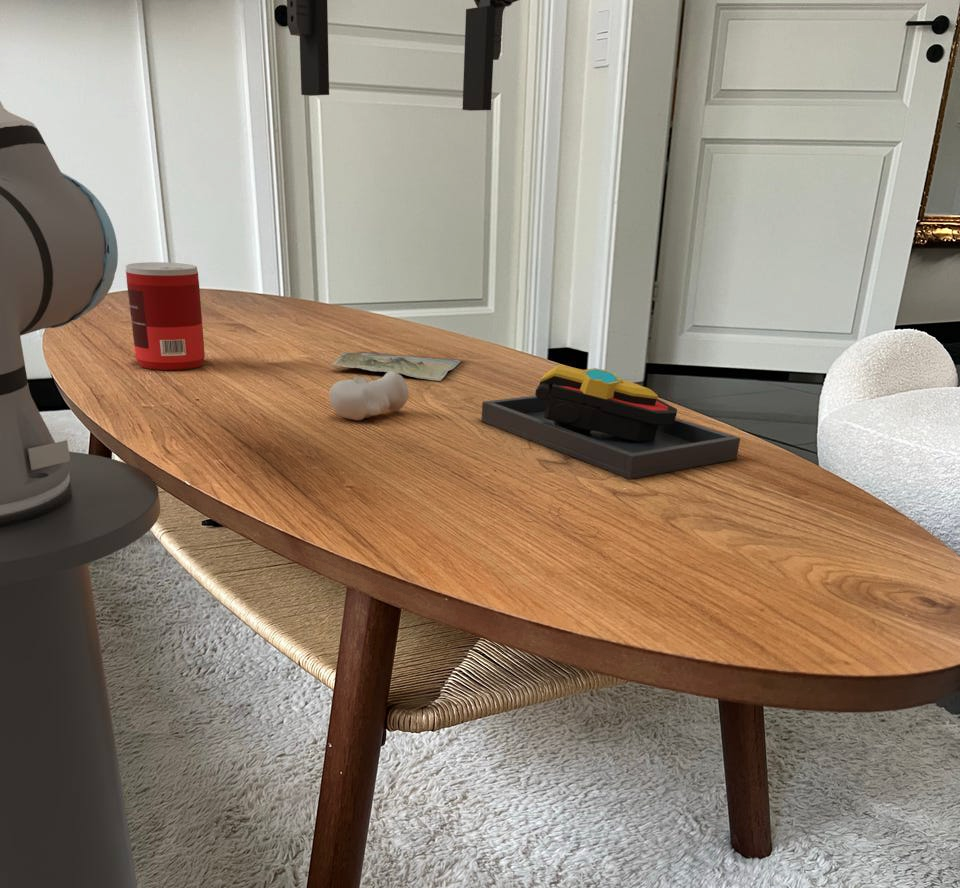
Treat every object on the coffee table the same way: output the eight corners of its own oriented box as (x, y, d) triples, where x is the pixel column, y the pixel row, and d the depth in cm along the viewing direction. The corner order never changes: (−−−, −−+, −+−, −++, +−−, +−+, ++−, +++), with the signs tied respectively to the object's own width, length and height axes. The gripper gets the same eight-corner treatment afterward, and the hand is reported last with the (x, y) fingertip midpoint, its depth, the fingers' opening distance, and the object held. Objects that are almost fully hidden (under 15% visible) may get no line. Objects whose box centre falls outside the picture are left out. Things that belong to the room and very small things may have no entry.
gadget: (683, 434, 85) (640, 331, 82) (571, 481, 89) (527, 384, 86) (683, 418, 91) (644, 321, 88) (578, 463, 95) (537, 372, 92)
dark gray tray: (481, 421, 94) (481, 401, 93) (582, 408, 101) (584, 389, 101) (630, 479, 79) (633, 456, 78) (736, 459, 86) (740, 437, 85)
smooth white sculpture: (341, 435, 91) (321, 408, 94) (414, 427, 95) (393, 401, 98) (344, 396, 88) (324, 369, 91) (420, 389, 92) (399, 363, 95)
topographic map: (440, 381, 110) (441, 367, 110) (329, 368, 112) (330, 354, 111) (461, 365, 122) (462, 352, 122) (362, 353, 124) (362, 340, 123)
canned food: (218, 363, 113) (211, 266, 108) (174, 373, 107) (164, 271, 102) (168, 355, 116) (159, 260, 111) (122, 365, 110) (110, 265, 105)
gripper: (236, -387, 49) (260, 85, 58) (593, -251, 62) (564, 115, 72) (185, -337, 54) (214, 89, 64) (524, -221, 67) (506, 115, 77)
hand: (400, 103), depth 68 cm, fingers open, 13 cm apart
